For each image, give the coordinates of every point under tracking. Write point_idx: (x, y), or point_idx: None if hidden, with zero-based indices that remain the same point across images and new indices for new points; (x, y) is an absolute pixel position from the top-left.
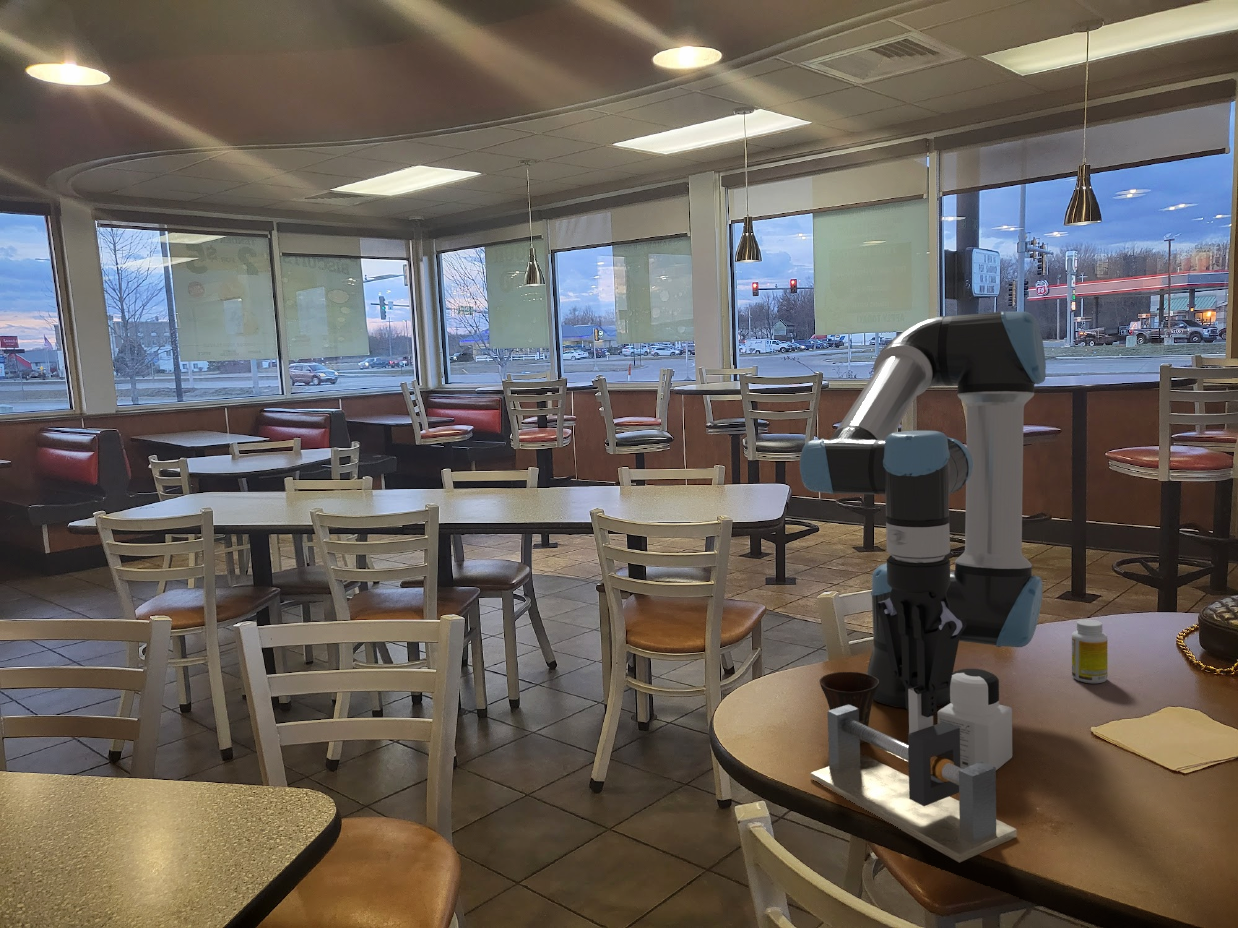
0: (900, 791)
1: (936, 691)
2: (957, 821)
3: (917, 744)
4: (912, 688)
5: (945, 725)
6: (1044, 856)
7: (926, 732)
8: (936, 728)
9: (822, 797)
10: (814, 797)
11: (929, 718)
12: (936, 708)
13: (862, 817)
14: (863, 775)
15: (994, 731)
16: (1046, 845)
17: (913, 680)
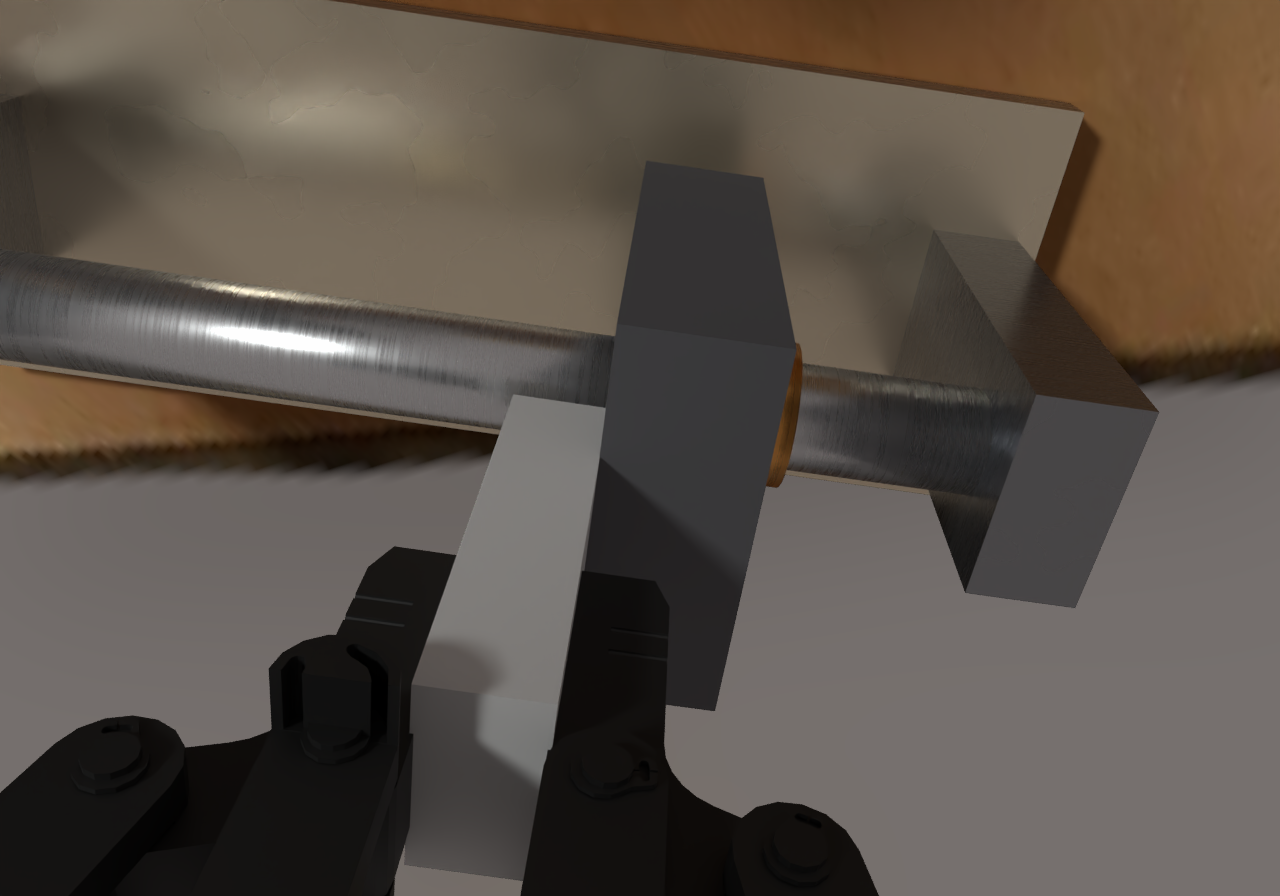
0: (400, 199)
1: (668, 765)
2: (804, 262)
3: None
4: (426, 838)
5: (675, 390)
6: (1249, 177)
7: None
8: (656, 486)
9: (181, 440)
10: (162, 463)
11: (587, 536)
12: (668, 627)
13: (432, 458)
14: (134, 185)
15: None
16: (1230, 68)
17: (385, 878)
